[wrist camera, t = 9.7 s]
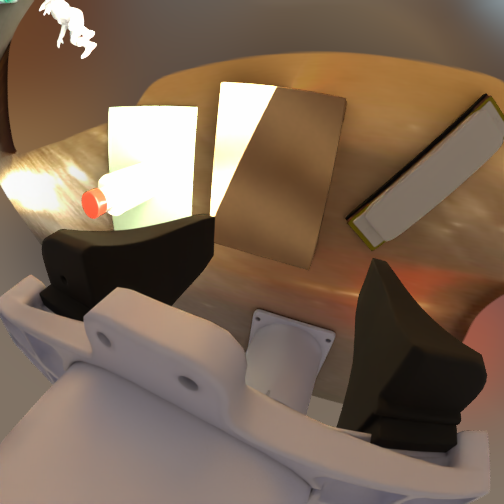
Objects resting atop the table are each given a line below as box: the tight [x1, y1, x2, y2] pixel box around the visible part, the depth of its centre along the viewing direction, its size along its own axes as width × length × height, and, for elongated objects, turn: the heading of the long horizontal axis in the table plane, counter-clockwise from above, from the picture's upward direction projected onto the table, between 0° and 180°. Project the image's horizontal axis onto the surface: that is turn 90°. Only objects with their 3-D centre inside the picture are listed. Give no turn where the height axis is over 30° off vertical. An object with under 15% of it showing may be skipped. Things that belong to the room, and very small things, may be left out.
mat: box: [108, 106, 198, 230], centre depth 24 cm, size 14×10×1 cm
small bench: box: [210, 82, 347, 270], centre depth 19 cm, size 12×8×2 cm, turn 173°
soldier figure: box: [39, 0, 97, 59], centre depth 17 cm, size 8×5×12 cm
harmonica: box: [345, 94, 504, 251], centre depth 15 cm, size 15×3×2 cm, turn 139°
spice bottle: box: [82, 162, 159, 219], centre depth 21 cm, size 4×4×7 cm
